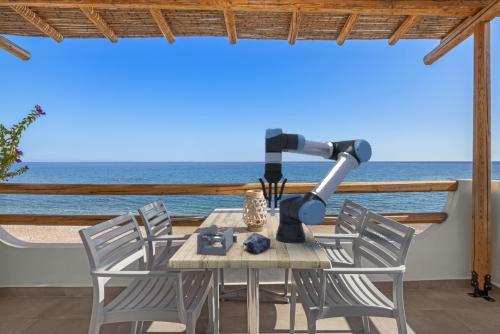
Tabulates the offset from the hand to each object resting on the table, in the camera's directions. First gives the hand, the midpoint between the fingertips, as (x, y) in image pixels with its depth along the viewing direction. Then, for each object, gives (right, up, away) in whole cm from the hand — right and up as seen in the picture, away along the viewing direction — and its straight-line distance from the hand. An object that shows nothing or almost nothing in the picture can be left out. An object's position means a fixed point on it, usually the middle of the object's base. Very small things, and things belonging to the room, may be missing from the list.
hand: (272, 215), depth 130 cm
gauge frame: (-24, -16, +4) cm, 29 cm away
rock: (-8, -16, +1) cm, 18 cm away
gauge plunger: (-25, -15, +5) cm, 30 cm away
